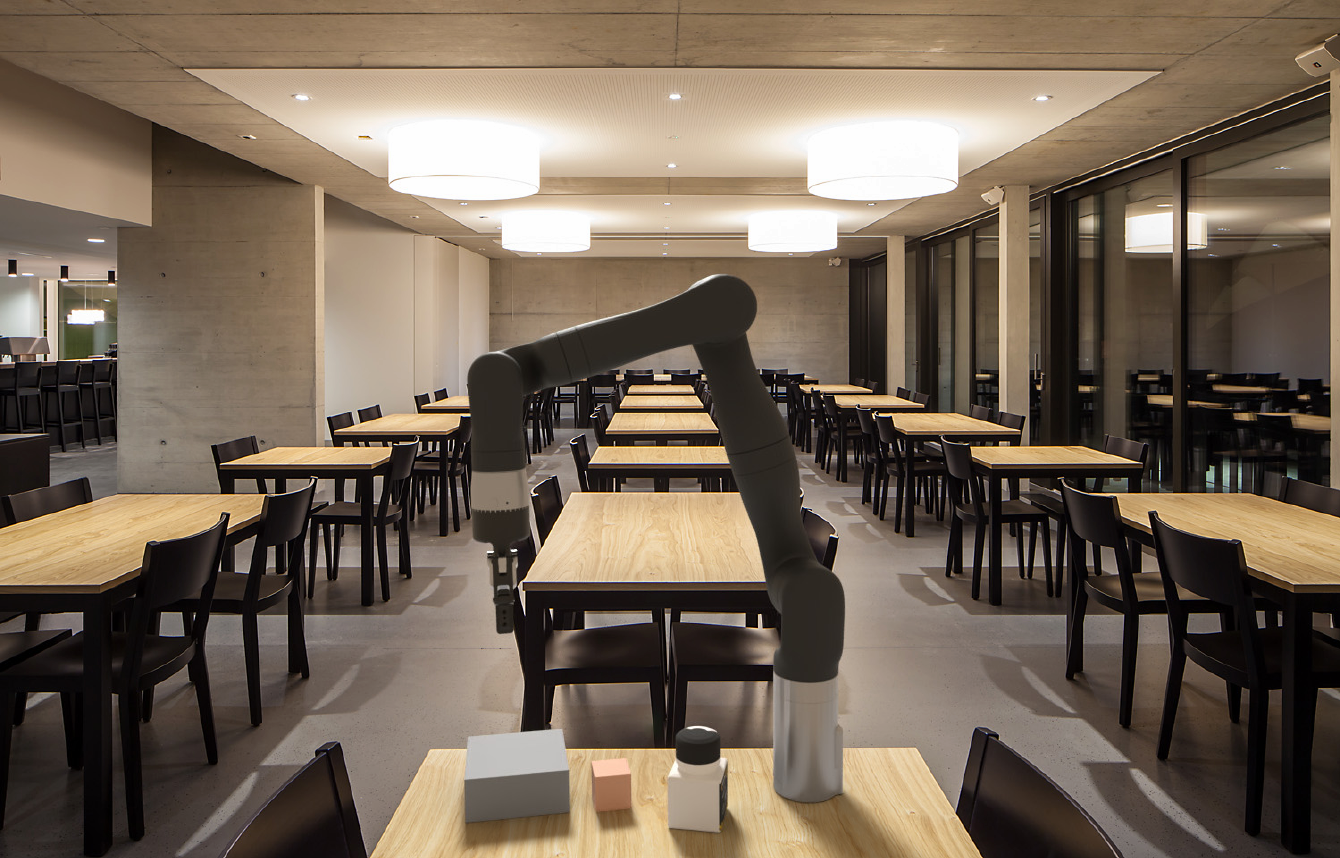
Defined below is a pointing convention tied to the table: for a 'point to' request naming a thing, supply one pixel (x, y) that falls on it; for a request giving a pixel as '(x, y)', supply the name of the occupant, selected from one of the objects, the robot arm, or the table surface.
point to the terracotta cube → (611, 784)
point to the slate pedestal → (516, 775)
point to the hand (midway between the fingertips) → (504, 623)
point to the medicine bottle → (698, 782)
